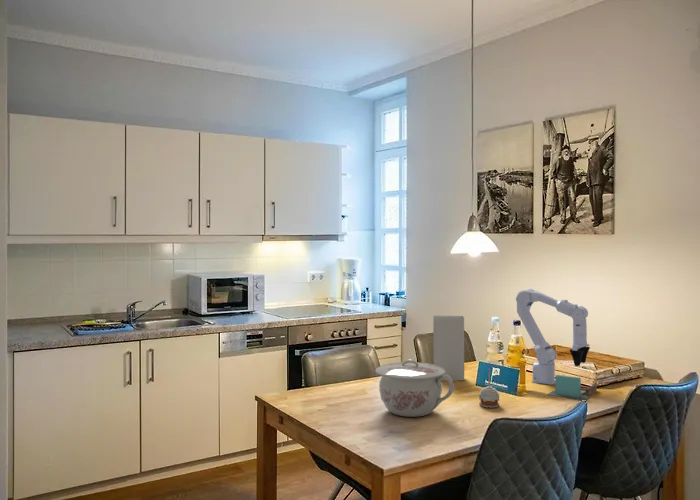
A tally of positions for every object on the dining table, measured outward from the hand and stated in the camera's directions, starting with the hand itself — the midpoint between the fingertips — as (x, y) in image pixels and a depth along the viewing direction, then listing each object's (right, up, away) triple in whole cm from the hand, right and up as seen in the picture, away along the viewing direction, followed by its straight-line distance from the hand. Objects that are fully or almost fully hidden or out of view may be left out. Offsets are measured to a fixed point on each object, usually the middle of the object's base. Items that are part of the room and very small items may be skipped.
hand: (579, 364), depth 280 cm
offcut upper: (-6, -11, -9) cm, 15 cm away
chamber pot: (-79, -13, -36) cm, 88 cm away
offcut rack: (-4, -11, -6) cm, 13 cm away
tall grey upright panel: (-56, -11, +18) cm, 60 cm away
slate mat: (-10, -11, -14) cm, 21 cm away
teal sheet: (-10, -11, -14) cm, 21 cm away
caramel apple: (-47, -12, -28) cm, 56 cm away
